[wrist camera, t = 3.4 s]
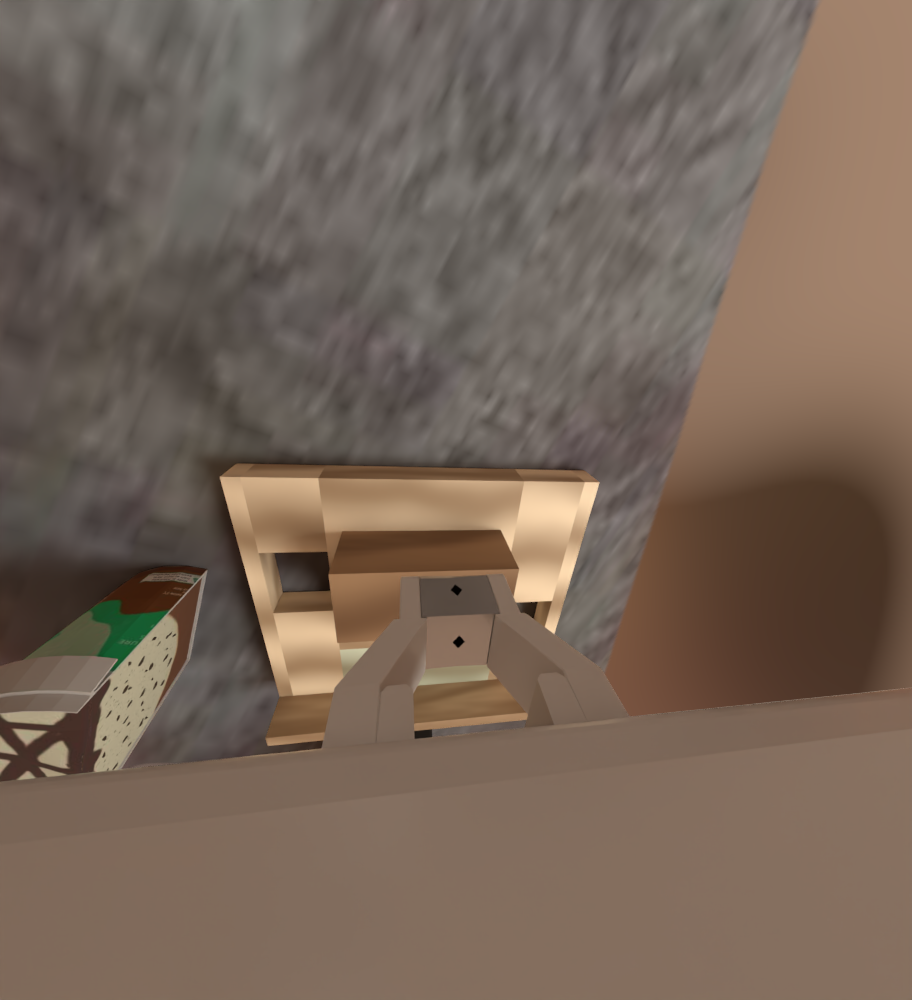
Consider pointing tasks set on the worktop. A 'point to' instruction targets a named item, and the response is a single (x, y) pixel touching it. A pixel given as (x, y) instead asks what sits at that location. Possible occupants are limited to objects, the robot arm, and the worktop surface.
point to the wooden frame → (394, 507)
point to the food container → (99, 678)
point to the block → (404, 571)
